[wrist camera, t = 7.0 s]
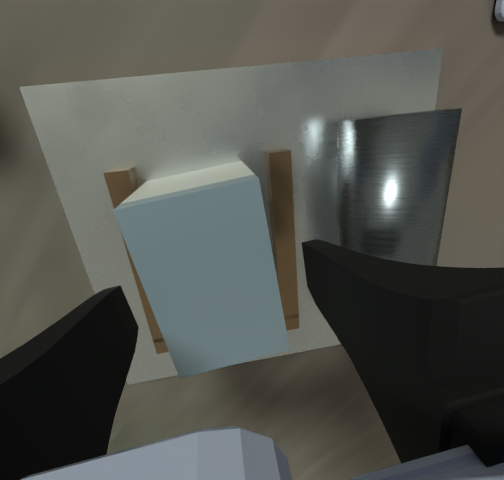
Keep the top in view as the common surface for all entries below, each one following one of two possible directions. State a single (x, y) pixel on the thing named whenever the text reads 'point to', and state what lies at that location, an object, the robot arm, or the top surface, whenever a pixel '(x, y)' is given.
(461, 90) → the top surface
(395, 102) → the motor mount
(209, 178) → the block
